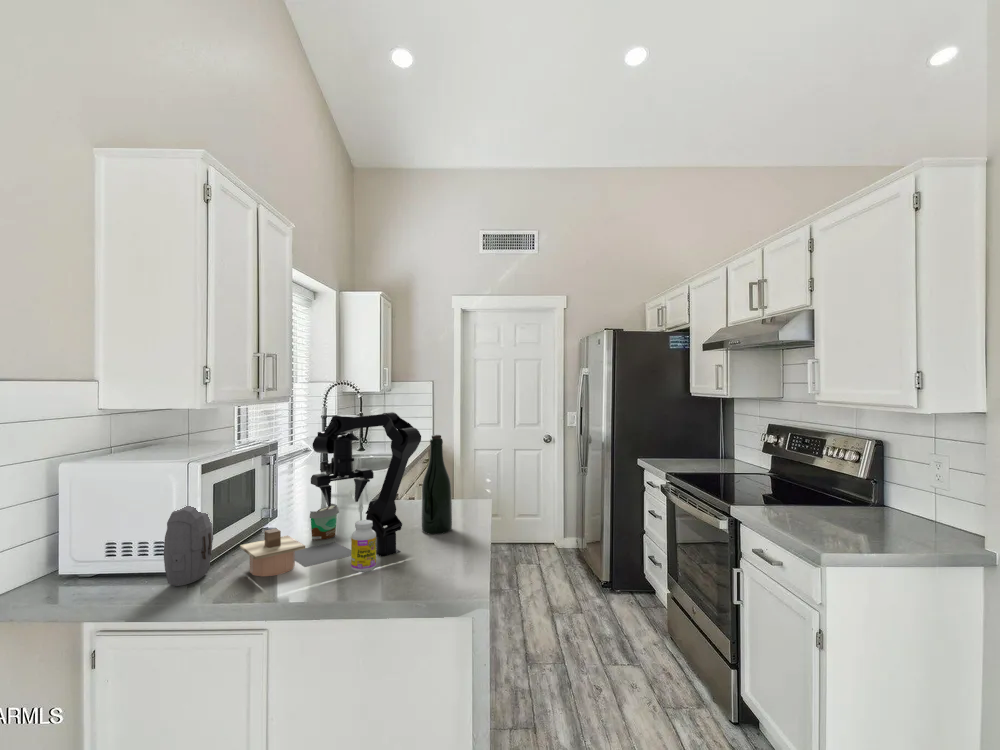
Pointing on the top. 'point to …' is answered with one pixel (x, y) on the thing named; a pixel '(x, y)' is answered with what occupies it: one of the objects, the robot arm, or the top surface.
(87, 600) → the top surface
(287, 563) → the bowl
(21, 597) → the top surface
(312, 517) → the food container
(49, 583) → the top surface
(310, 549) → the mat
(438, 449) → the dark green wine bottle
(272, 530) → the lid
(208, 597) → the top surface
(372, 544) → the supplement bottle
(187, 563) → the small grey backpack
